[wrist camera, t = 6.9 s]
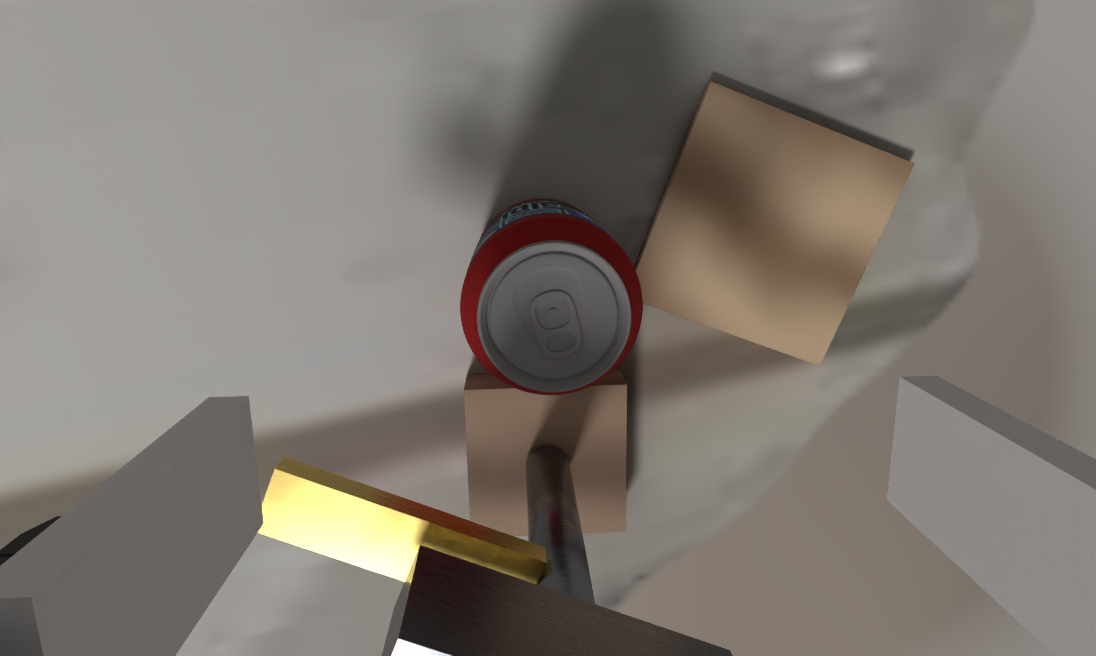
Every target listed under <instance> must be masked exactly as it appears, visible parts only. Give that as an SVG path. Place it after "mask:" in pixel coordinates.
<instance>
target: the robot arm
mask: <svg viewBox="0 0 1096 656" xmlns="http://www.w3.org/2000/svg"><path fill="white" fill-rule="evenodd" d="M887 500H888V501H889V502H890V503H891V504H892V505H893V506H894V507H895V508H896V509H897V510H898V511H900V513H902V514H903V515H904V516H905V517H906V518H907V519H908V520H909V521H910V522H911V523H912V524H913V525H915V526H916V527H917V528H918V529H919V530H920V531H921V532H922V533H923V534H924V535H925V536H926V537H928V538H929V539H930V540H931V541H932V542H933V543H934V544H935V545H936V546H937V547H938V548H939V549H941V550H942V551H943V552H944V553H945V554H946V555H947V556H948V557H949V558H950V559H951V560H952V561H954V562H955V563H956V564H957V565H958V566H959V567H960V568H961V569H962V570H963V571H964V572H965V573H967V574H968V575H969V576H970V577H971V578H972V579H973V580H974V581H975V582H976V583H977V584H978V585H980V586H981V587H982V588H983V589H984V590H985V591H986V592H987V593H988V594H989V595H990V596H992V598H994V599H995V600H996V601H997V602H998V603H999V604H1000V605H1001V606H1002V607H1003V608H1004V609H1005V610H1007V611H1008V612H1009V613H1010V614H1011V615H1012V616H1013V617H1014V618H1015V619H1016V620H1017V621H1019V622H1020V623H1021V624H1022V625H1023V626H1024V627H1025V628H1026V629H1027V630H1028V631H1029V632H1030V633H1031V634H1033V635H1034V636H1035V637H1036V638H1037V639H1038V640H1039V641H1040V642H1041V643H1042V644H1043V645H1044V646H1046V647H1047V648H1048V649H1049V650H1050V651H1051V652H1052V653H1053V654H1054V655H1055V656H1096V459H1094V458H1092V457H1090V456H1088V455H1086V454H1085V453H1083V452H1081V451H1078V450H1077V449H1075V448H1073V447H1071V446H1069V445H1067V444H1065V443H1063V442H1062V441H1060V440H1058V439H1056V438H1054V437H1052V436H1050V435H1048V434H1046V433H1044V432H1042V431H1041V430H1039V429H1037V428H1035V427H1033V426H1031V425H1029V424H1027V423H1025V422H1023V421H1022V420H1020V419H1018V418H1016V417H1014V416H1012V415H1010V414H1008V413H1006V412H1004V411H1003V410H1001V409H999V408H997V407H995V406H993V405H991V404H989V403H987V402H985V401H983V400H981V399H980V398H978V397H976V396H974V395H972V394H970V393H968V392H966V391H964V390H962V389H961V388H959V387H957V386H955V385H953V384H951V383H949V382H947V381H945V380H943V379H941V378H940V377H938V376H915V377H900V380H899V390H898V400H897V411H896V419H895V428H894V438H893V447H892V458H891V467H890V476H889V486H888V495H887ZM263 524H264V522H263V514H262V505H261V497H260V488H259V480H258V472H257V463H256V455H255V446H254V438H253V429H252V421H251V412H250V404H249V396H238V397H209V398H208V399H206V400H205V401H204V402H203V403H201V404H200V405H199V406H198V407H196V408H195V409H194V410H193V411H191V412H190V413H189V414H188V415H186V416H185V417H184V418H183V419H182V420H180V421H179V422H178V423H177V424H175V425H174V426H173V427H172V428H170V429H169V430H168V431H167V432H165V433H164V434H163V435H162V436H160V437H159V438H158V439H157V440H156V441H154V442H153V443H152V444H151V445H149V446H148V447H147V448H146V449H144V450H143V451H142V452H141V453H139V454H138V455H137V456H136V457H134V458H133V459H132V460H131V461H129V462H128V463H127V464H126V465H125V466H123V467H122V468H121V469H120V470H118V471H117V472H116V473H115V474H113V475H112V476H111V477H110V478H108V479H107V480H106V481H105V482H103V483H102V484H101V485H100V486H99V487H97V488H96V489H95V490H94V491H92V492H91V493H90V494H89V495H87V496H86V497H85V498H84V499H82V500H81V501H80V502H79V503H77V504H76V505H75V506H74V507H73V508H71V509H70V510H69V511H68V512H66V513H65V514H64V515H63V516H57V517H55V518H53V519H51V520H49V521H47V522H45V523H43V524H41V525H38V526H36V527H34V528H32V529H30V530H28V531H26V532H24V533H22V534H20V535H19V536H18V537H17V538H15V539H14V540H13V541H11V542H10V543H9V544H8V545H6V546H5V547H4V548H2V549H1V550H0V656H175V655H176V653H177V652H178V650H179V649H180V647H181V646H182V644H183V643H184V642H185V640H186V639H187V637H188V636H189V634H190V633H191V631H192V630H193V628H194V627H195V625H196V624H197V622H198V621H199V619H200V618H201V616H202V615H203V613H204V612H205V610H206V609H207V607H208V606H209V604H210V603H211V601H212V600H213V598H214V597H215V595H216V594H217V592H218V591H219V589H220V588H221V586H222V585H223V583H224V582H225V580H226V579H227V577H228V576H229V574H230V573H231V571H232V570H233V568H234V567H235V565H236V564H237V562H238V561H239V559H240V558H241V556H242V555H243V553H244V552H245V550H246V549H247V547H248V546H249V544H250V543H251V541H252V540H253V538H254V537H255V535H256V534H257V532H258V531H259V529H260V528H261V527H262V525H263Z"/></svg>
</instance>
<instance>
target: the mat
mask: <svg viewBox="0 0 1096 656" xmlns="http://www.w3.org/2000/svg"><path fill="white" fill-rule="evenodd" d="M913 166H914V163H912V162H910V161H907V160H905V159H902V158H900V157H897V156H895V155H892V154H890V153H887V152H885V151H882V150H880V149H877V148H875V147H872V146H870V145H867V144H865V143H862V142H860V141H857V140H855V139H853V138H850V137H848V136H845V135H843V134H840V133H838V132H835V131H833V130H830V129H828V128H825V127H823V126H820V125H818V124H815V123H813V122H810V121H808V120H805V119H803V118H800V117H798V116H796V115H793V114H791V113H788V112H786V111H783V110H781V109H778V108H776V107H773V106H771V105H768V104H766V103H763V102H761V101H758V100H756V99H753V98H751V97H748V96H746V95H743V94H741V93H738V92H736V91H734V90H731V89H729V88H726V87H724V86H721V85H719V84H716V83H714V82H708V83H707V86H706V88H705V91H704V93H703V96H702V98H701V101H700V104H699V106H698V109H697V111H696V114H695V116H694V119H693V121H692V124H691V126H690V129H689V131H688V134H687V136H686V139H685V141H684V144H683V146H682V149H681V152H680V154H679V157H678V159H677V162H676V164H675V167H674V169H673V172H672V174H671V177H670V179H669V182H668V184H667V187H666V189H665V192H664V194H663V197H662V199H661V202H660V205H659V207H658V210H657V212H656V215H655V217H654V220H653V222H652V225H651V227H650V230H649V232H648V235H647V237H646V240H645V242H644V245H643V247H642V250H641V252H640V255H639V258H638V260H637V263H636V265H635V270H636V273H637V275H638V278H639V282H640V285H641V291H642V299H643V303H645V304H648V305H650V306H653V307H656V308H659V309H662V310H664V311H667V312H670V313H673V314H676V315H678V316H681V317H684V318H687V319H690V320H692V321H695V322H698V323H701V324H704V325H706V326H709V327H712V328H715V329H718V330H721V331H723V332H726V333H729V334H732V335H735V336H737V337H740V338H743V339H746V340H749V341H751V342H754V343H757V344H760V345H763V346H765V347H768V348H771V349H774V350H777V351H779V352H782V353H785V354H788V355H791V356H793V357H796V358H799V359H802V360H805V361H807V362H810V363H813V364H816V365H819V366H820V365H821V363H822V360H823V358H824V356H825V354H826V352H827V350H828V348H829V345H830V343H831V341H832V339H833V337H834V335H835V333H836V331H837V328H838V326H839V324H840V322H841V320H842V318H843V316H844V313H845V311H846V309H847V307H848V305H849V303H850V301H851V298H852V296H853V294H854V292H855V290H856V288H857V286H858V284H859V281H860V279H861V277H862V275H863V273H864V271H865V269H866V266H867V264H868V262H869V260H870V258H871V256H872V254H873V251H874V249H875V247H876V245H877V243H878V241H879V239H880V237H881V234H882V232H883V230H884V228H885V226H886V224H887V222H888V219H889V217H890V215H891V213H892V211H893V209H894V207H895V204H896V202H897V200H898V198H899V196H900V194H901V192H902V190H903V187H904V185H905V183H906V181H907V179H908V177H909V175H910V172H911V170H912V168H913Z"/></svg>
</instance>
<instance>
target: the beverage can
mask: <svg viewBox="0 0 1096 656" xmlns="http://www.w3.org/2000/svg"><path fill="white" fill-rule="evenodd" d="M642 311H643V299H642V291H641V285H640V282H639V278H638V275H637V273H636V270H635V268H634V266H633V264H632V262H631V261H630V259H629V257H628V256H627V254H626V253H625V252H624V250H623V249H622V248H621V247H620V246H619V245H618V244H617V243H616V242H615V241H614V239H613V238H612V237H611V236H610V235H609V234H607V233H606V232H605V231H604V230H603V229H602V228H601V227H600V226H599V225H598V224H597V223H595V222H594V221H593V220H592V219H591V218H589V217H588V216H587V215H585V214H584V213H583V212H581V211H580V210H578V209H577V208H575V207H573V206H571V205H569V204H566V203H563V202H560V201H556V200H549V199H535V200H528V201H524V202H521V203H518V204H516V205H513V206H511V207H509V208H508V209H506V210H504V211H503V212H502V213H500V214H499V215H498V216H497V217H496V218H495V219H493V221H492V222H491V223H490V224H489V225H488V227H487V228H486V229H485V231H484V233H483V234H482V236H481V238H480V240H479V242H478V244H477V247H476V249H475V251H474V254H473V256H472V259H471V262H470V264H469V267H468V270H467V274H466V277H465V280H464V284H463V288H462V293H461V301H460V312H461V321H462V326H463V330H464V334H465V337H466V339H467V342H468V344H469V346H470V348H471V350H472V351H473V353H474V355H475V356H476V358H477V359H478V360H479V362H480V363H481V364H482V365H483V366H484V367H485V368H486V369H487V370H488V371H489V372H490V373H491V374H492V375H493V376H495V377H496V378H498V379H499V380H500V381H502V382H504V383H505V384H507V385H509V386H511V387H513V388H516V389H518V390H521V391H524V392H528V393H533V394H539V395H562V394H569V393H573V392H577V391H580V390H583V389H585V388H588V387H590V386H592V385H594V384H596V383H598V382H599V381H601V380H602V379H604V378H605V377H607V376H608V375H609V374H610V373H612V372H613V371H614V370H615V369H616V368H617V367H618V366H619V365H620V364H621V362H622V361H623V360H624V359H625V357H626V356H627V354H628V353H629V351H630V350H631V348H632V346H633V344H634V342H635V340H636V338H637V335H638V332H639V328H640V325H641V319H642Z"/></svg>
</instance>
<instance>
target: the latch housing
mask: <svg viewBox="0 0 1096 656" xmlns="http://www.w3.org/2000/svg"><path fill="white" fill-rule="evenodd" d="M464 403H465V423H466V443H467V463H468V483H469V504H470V521H471V522H474V523H477V524H480V525H483V526H486V527H488V528H491V529H494V530H497V531H500V532H503V533H506V534H509V535H511V536H528V512H527V488H526V460H527V458H528V456H529V454H530V453H531V452H532V451H533V450H534V449H536V448H537V447H540V446H543V445H553V446H556V447H559V448H560V449H562V450H563V451H564V452H565V453H566V454H567V456H568V459H569V462H570V468H571V473H572V479H573V485H574V490H575V496H576V501H577V507H578V512H579V518H580V523H581V529H582V533H600V532H624V531H626V453H627V384H626V382H625V379H624V377H623V375H622V373H621V371H620V370H614V371H613V372H612V373H610V374H609V375H608V376H607V377H605V378H604V379H602V380H601V381H599V382H598V383H596V384H594V385H592V386H590V387H588V388H585V389H583V390H580V391H577V392H573V393H569V394H562V395H539V394H533V393H528V392H524V391H521V390H518V389H516V388H513V387H511V386H509V385H507V384H505V383H504V382H502V381H500V380H499V379H498V378H496V377H495V376H493V375H492V374H470V375H467V377H466V382H465V387H464Z"/></svg>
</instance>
